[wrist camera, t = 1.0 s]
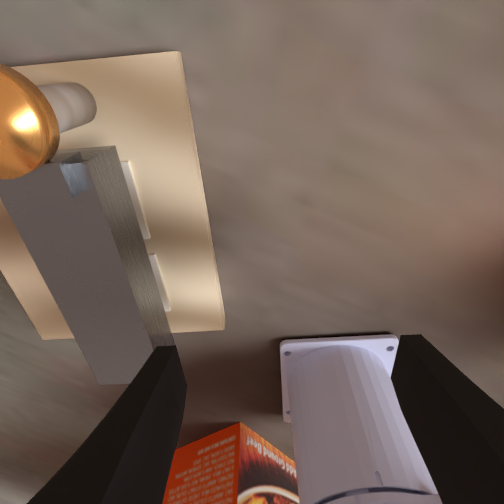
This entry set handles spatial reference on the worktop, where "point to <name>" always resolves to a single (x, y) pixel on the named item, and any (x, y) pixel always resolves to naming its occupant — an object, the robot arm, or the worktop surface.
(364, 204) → the worktop surface
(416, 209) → the worktop surface
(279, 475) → the cereal box
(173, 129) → the tan piece
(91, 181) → the swing bar
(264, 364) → the worktop surface
